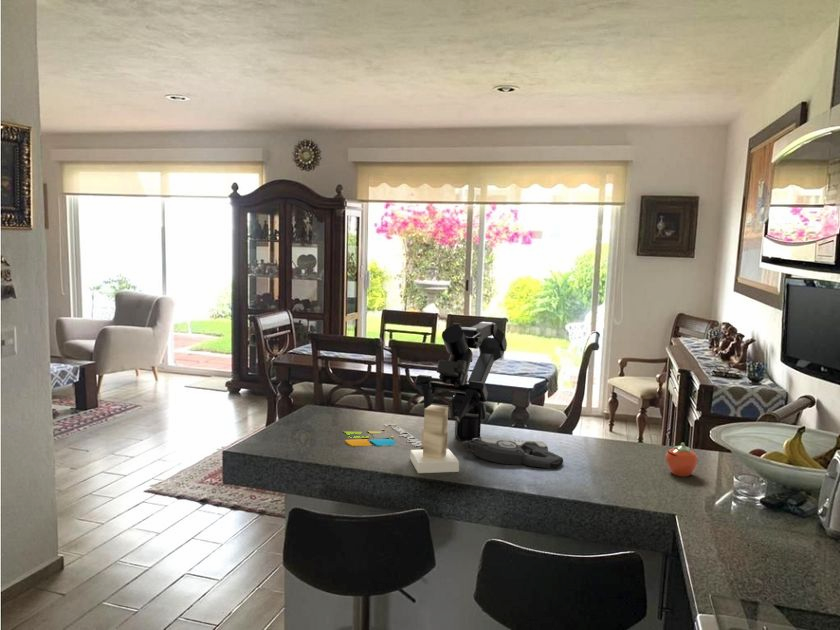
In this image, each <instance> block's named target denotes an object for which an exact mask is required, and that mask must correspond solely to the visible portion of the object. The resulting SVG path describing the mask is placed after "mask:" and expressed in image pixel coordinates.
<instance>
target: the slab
mask: <svg viewBox="0 0 840 630" xmlns="http://www.w3.org/2000/svg"><path fill="white" fill-rule="evenodd" d="M410 459H411V460H410V461H411V463H412V465H413V467H414V469H415V470H416V472H417V474H428V473H429V474H430V473H431V474H433V473H457V472H459V471H460V461H459V460H458V458H457V457H456V456H455V454H453V452H452V451H451V450H450V448H447V449H446V455H445V456H443V457H442V458H441V459H440V460H439V459H433V458H428V457H423V448H422V449H410Z"/></svg>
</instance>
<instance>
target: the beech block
mask: <svg viewBox="0 0 840 630" xmlns="http://www.w3.org/2000/svg"><path fill="white" fill-rule="evenodd" d="M423 412H424V411H423ZM423 417H424V418H423V429H424V438H423V447H422V449H423V457H428V458H433V459H439V460H440V459H441V458H442V457H443V456H445V455H446V448H447V449H448V435H447V432H448V424H449V423H448V418H449V407H448V406H443V405H436V404H431V405H430V406H428V407H427V408H425V412H424V416H423Z"/></svg>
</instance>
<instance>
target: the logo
mask: <svg viewBox="0 0 840 630" xmlns="http://www.w3.org/2000/svg"><path fill="white" fill-rule="evenodd" d="M384 425H385V426H384ZM384 425H383V426H384V427H385V428H388V427H389V426H387V425H394V426H390V428H391V427H392V428H393V429H394V430H393V429H392V428H391V429H392V430H393V431H395V432H396V431H399V432H397V433H398V437H399V436H404V437H403V438H405V437H407V438H406V441H407V442H406V443H409V442H416V443H410V445H411V444H412V445H411V446H415V447H414V448H417V447H416V446H419V447H422V440H420V439H418V438H416V437H415V436H414V435H412V434H410V432H407V431H406V429H405V430H404V429H403V428H401V426H397V424H396V423H395V424H394V423H390V424H389V423H384ZM385 428H381V430H385V431H386V429H385ZM381 430H380V431H374V430H373V431H372V430H367V431H366V433H368V432H369V433H368V434H370V433H381V432H382V431H381ZM400 431H401V432H400ZM343 432H344V433H343ZM362 432H363V431H347V430H345V431H342V433H343V434H345V433H346V434H345V435H347V436H348V435H350V434H354V433H355V434H361V433H362ZM399 433H400V434H402V433H408V434H409V435H408V434H402V435H400V434H399ZM369 436H370V435H369ZM369 436H366V437H364V436H362V437H360V436H354V437H353V438H369ZM349 437H350V436H348V437H347V439H345V440H344V443H345V444H347V445H348V446H349V447H354V446H355V448H357V447H358V446H362V447H369V446H368V445H373V446H376V445H377V446H376V447H383V446H382V445H394V444H397V443H396V442H395V441H394V438H395V436H394V435H393V436H391V437H394V438H391V437H390V438H389V439H374V438H373V439H374V440H373V439H370V438H369V439H370V441H369V439H348V438H349ZM350 438H352V437H350ZM409 438H415V439H409ZM407 439H408V440H407ZM409 440H410V441H409ZM372 443H373V444H372ZM417 443H419V444H417Z"/></svg>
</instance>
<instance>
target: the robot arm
mask: <svg viewBox="0 0 840 630" xmlns="http://www.w3.org/2000/svg"><path fill="white" fill-rule="evenodd" d="M441 338H442V341H443V344H444V346H445V348H446V353H448V354H449V355H450V356H449V359H448V360H444V359H439V360H438V364H437V366H436V373H438V374H439V376H438V377H439V380H441V381H434V379H433V376H432V375H428V374H427V375H425V374H419V375H417V376H416V378H415V379H414V385H415V386H416V387H415V388H416V389H417V391H418V393H419V394H420V395H422V397H423V410H424V411H423V412H425V408H427V407H428V406H430V405H432V403H433V400H434V398H435V397H434V394H435V391H436V390H438V391H446V392H451V393H455V394H454V395H453V396H452V398H451V411H452V412H451V413H452V417H456V420H455V422H454V436H455V437H456V438H457V439H458V440H459V441H462V442H464V441H466V440H467V441H470V440H472V439H473V438H481V439H483V437H481V424H482V420H485V419H486V418H487V417H486V416H487V407H486V405H485V403H486V402H487V399H488V394H489V393H488V392H489V391H488V390H487V386H486V381H487V379H488V377H489V374H490V371H491V369H492V367H493V365H494V363H495V362H496V361H498V360H500V359H501V358H502V357H503V355H504V354H505V352H506V351H507V347H508V341H507V338H506V334H505V333H504V332H503V331H501V329H499V328H498V325H497V323H495V322H491V321H480V322H479V323H477V324H474V325H472V326H470V327H468V326H462V324H461V323H457V322H456V323H455V322H453V323H452V325H451V326H448V327H446V328H445V329H444V330H443V331H442V333H441ZM472 349H475V350H477V349H478V350H479V356H478V357H477V360H476V362H475V364H474V366H473V368H472V371H471V374H470V375H469V376H468V371H469V369H470V365H471V363H473V351H472ZM468 377H469V378H468ZM466 380H467V382H466V383H465V381H466Z"/></svg>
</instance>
